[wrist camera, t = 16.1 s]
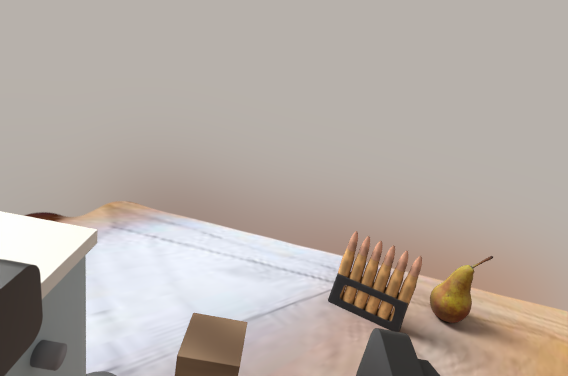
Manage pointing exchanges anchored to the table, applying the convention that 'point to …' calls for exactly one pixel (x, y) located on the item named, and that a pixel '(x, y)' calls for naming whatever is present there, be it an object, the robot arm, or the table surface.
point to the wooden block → (211, 347)
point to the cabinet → (52, 291)
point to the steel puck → (100, 374)
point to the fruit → (454, 295)
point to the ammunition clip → (374, 285)
